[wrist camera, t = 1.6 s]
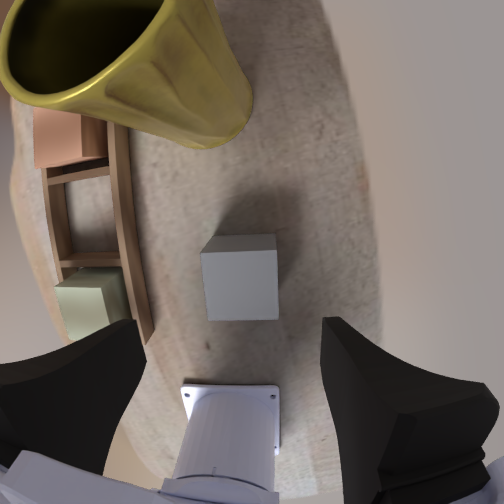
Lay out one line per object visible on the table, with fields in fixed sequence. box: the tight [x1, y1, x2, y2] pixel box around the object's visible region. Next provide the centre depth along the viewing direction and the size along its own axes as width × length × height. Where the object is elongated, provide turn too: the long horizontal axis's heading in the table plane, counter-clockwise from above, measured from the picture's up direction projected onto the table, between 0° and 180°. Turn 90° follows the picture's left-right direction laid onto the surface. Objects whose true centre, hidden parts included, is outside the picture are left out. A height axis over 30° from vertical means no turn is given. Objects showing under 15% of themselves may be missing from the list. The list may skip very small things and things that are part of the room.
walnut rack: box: [33, 107, 154, 345], centre depth 18 cm, size 18×6×4 cm, turn 3°
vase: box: [0, 0, 253, 149], centre depth 11 cm, size 6×6×14 cm
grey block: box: [200, 233, 279, 321], centre depth 18 cm, size 4×4×4 cm
